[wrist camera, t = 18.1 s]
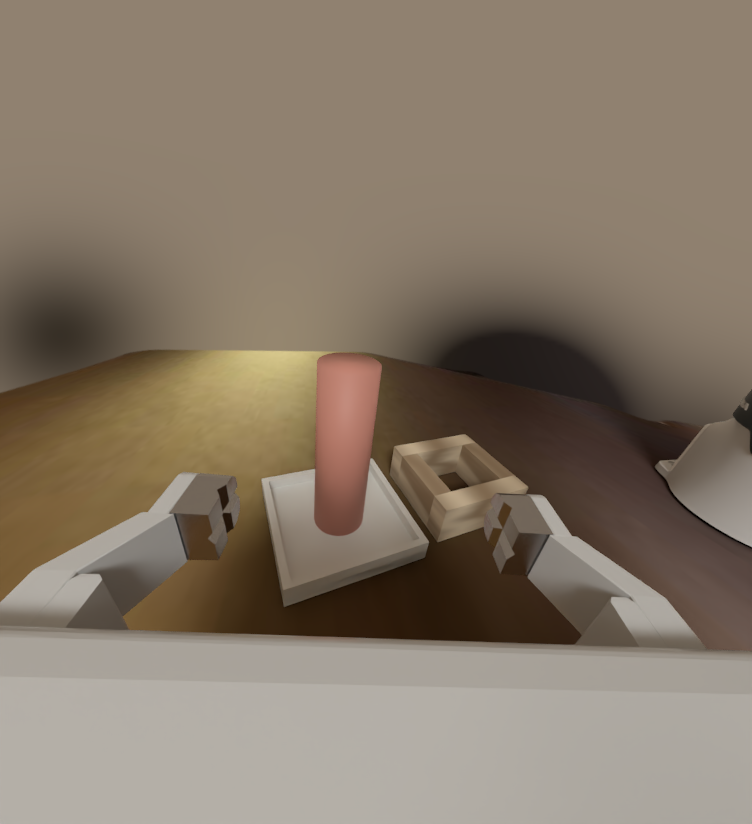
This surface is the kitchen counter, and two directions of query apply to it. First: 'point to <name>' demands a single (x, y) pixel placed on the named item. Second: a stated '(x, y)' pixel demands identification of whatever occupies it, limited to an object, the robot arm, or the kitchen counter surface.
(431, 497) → the socket block
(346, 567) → the tray
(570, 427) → the kitchen counter surface
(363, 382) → the dowel
